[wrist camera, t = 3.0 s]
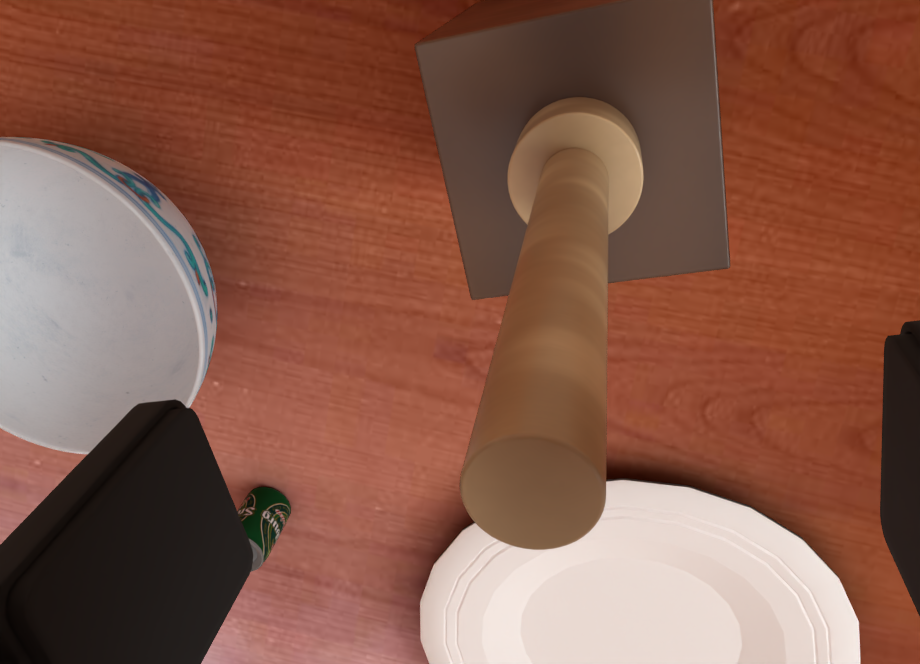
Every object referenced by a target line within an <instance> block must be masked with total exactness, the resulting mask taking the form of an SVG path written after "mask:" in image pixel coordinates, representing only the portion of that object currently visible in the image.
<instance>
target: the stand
mask: <svg viewBox="0 0 920 664" xmlns="http://www.w3.org/2000/svg"><path fill="white" fill-rule="evenodd" d="M415 51H416V56H417V60H418V65H419V69H420V74H421V78H422V82H423V87H424V91H425V96H426V100H427V105H428V109H429V114H430V118H431V122H432V127H433V131H434V136H435V140H436V145H437V149H438V154H439V158H440V163H441V167H442V171H443V176H444V180H445V185H446V189H447V194H448V198H449V203H450V207H451V211H452V216H453V220H454V225H455V229H456V234H457V238H458V243H459V247H460V252H461V256H462V260H463V265H464V269H465V274H466V278H467V283H468V287H469V292H470V296H471V299H472V300H476V299H484V298H492V297H500V296H508V295H509V292H510V289H511V285H512V281H513V278H514V274H515V270H516V266H517V263H518V259H519V255H520V251H521V248H522V244H523V240H524V236H525V233H526V229H527V224H526V223H525V222H524V221H523V220H522V218H521V217H520V216H519V214H518V213H517V211H516V209H515V208H514V206H513V203H512V201H511V198H510V194H509V190H508V182H507V180H508V167H509V163H510V159H511V156H512V154H513V151H514V149H515V146H516V144H517V141H518V139H519V137H520V134H521V132H522V130H523V129H524V127H525V125H526V124H527V123H528V122H529V120H530V119H531V118H532V117H533V116H534V115H535V114H536V113H537V112H538V111H540V110H541V109H542V108H544V107H546V106H547V105H549V104H551V103H553V102H556V101H558V100H562V99H566V98H572V97H587V98H593V99H597V100H600V101H603V102H605V103H607V104H610V105H611V106H613V107H614V108H616V109H617V110H618V111H620V112H621V113H622V114H623V115H624V116H625V117H626V118H627V119H628V120H629V122H630V123H631V125H632V126H633V128H634V130H635V132H636V134H637V137H638V140H639V143H640V148H641V155H642V163H643V175H644V180H643V188H642V192H641V196H640V199H639V201H638V204H637V206H636V207H635V209H634V211H633V212H632V214H631V215H630V217H629V218H628V219H627V220H626V221H625V222H624V223H623V224H622V225H621V226H620V227H619V228H618V229H616V230H615V231H613V232H612V233H610V234H609V235H608V283H614V282H622V281H630V280H638V279H646V278H654V277H663V276H671V275H679V274H687V273H695V272H703V271H711V270H719V269H728V268H729V267H730V253H729V238H728V223H727V208H726V192H725V177H724V162H723V147H722V132H721V117H720V102H719V86H718V71H717V56H716V41H715V26H714V11H713V0H483V1H479V2H477V3H476V4H474V5H473V6H471V7H470V8H468V9H467V10H465V11H464V12H462V13H461V14H459V15H458V16H456V17H455V18H453V19H452V20H450V21H449V22H447V23H446V24H444V25H443V26H441V27H440V28H438V29H437V30H435V31H434V32H432V33H431V34H429V35H428V36H426V37H425V38H423V39H422V40H420V41H419V42H417V43H416V44H415Z"/></svg>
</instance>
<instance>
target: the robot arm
mask: <svg viewBox="0 0 920 664" xmlns="http://www.w3.org/2000/svg"><path fill="white" fill-rule="evenodd" d="M880 517H881V525H882V530H883V534H884V537H885V540H886V543H887V545H888V548H889V550H890V552H891V554H892V556H893V559H894V561H895V563H896V565H897V567H898V570H899V572H900V574H901V576H902V578H903V581H904V583H905V585H906V587H907V589H908V592H909V594H910V596H911V598H912V600H913V603H914V605H915V607H916V609H917V611H918V614H919V616H920V321H911V322H905V323H904V325H903V326H902V329H901V334H900V335H892V336H888V337H887V338H886V341H885V347H884V379H883V420H882V460H881V501H880ZM252 565H253V550H252V546H251V543H250V541H249V539H248V536H247V534H246V531H245V529H244V527H243V524H242V522H241V519H240V517H239V515H238V512H237V510H236V507H235V505H234V503H233V500H232V498H231V495H230V493H229V491H228V488H227V486H226V483H225V481H224V479H223V476H222V474H221V471H220V469H219V467H218V464H217V462H216V459H215V457H214V455H213V452H212V450H211V447H210V445H209V442H208V440H207V438H206V435H205V433H204V430H203V428H202V426H201V423H200V421H199V418H198V416H197V415H196V413H195V412H194V411H193V410H192V409H190V408H186V406H185V405H184V404H183V403H182V402H181V401H178V400H176V399H174V400H165V401H155V402H146V403H139V404H137V405H136V406H134V407H133V408H132V409H131V410H130V411H129V412H128V413H127V414H126V415H125V416H124V417H123V419H122V420H121V421H120V422H119V423H118V424H117V425H116V426H115V427H114V428H113V429H112V430H111V431H110V432H109V433H108V434H107V435H106V436H105V437H104V438H103V439H102V440H101V441H100V442H99V443H98V444H97V445H96V446H95V447H94V449H93V450H92V451H91V452H90V453H89V454H88V455H87V456H86V457H85V458H84V459H83V460H82V461H81V462H80V463H79V464H78V465H77V466H76V467H75V468H74V469H73V470H72V471H71V472H70V473H69V474H68V475H67V476H66V477H65V479H64V480H63V481H62V482H61V483H60V484H59V485H58V486H57V487H56V488H55V489H54V490H53V491H52V492H51V493H50V494H49V495H48V496H47V497H46V498H45V499H44V500H43V501H42V502H41V503H40V504H39V505H38V506H37V508H36V509H35V510H34V511H33V512H32V513H31V514H30V515H29V516H28V517H27V518H26V519H25V520H24V521H23V522H22V523H21V524H20V525H19V526H18V527H17V528H16V529H15V530H14V531H13V532H12V533H11V534H10V535H9V536H8V538H7V539H6V540H5V541H4V542H3V543H2V544H1V545H0V664H201V662H202V661H203V659H204V657H205V655H206V653H207V651H208V649H209V648H210V646H211V644H212V642H213V640H214V638H215V637H216V635H217V633H218V631H219V629H220V627H221V625H222V624H223V622H224V620H225V618H226V616H227V614H228V613H229V611H230V609H231V607H232V605H233V603H234V601H235V600H236V598H237V596H238V594H239V592H240V590H241V589H242V587H243V585H244V583H245V581H246V579H247V577H248V576H249V574H250V571H251V569H252Z"/></svg>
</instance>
